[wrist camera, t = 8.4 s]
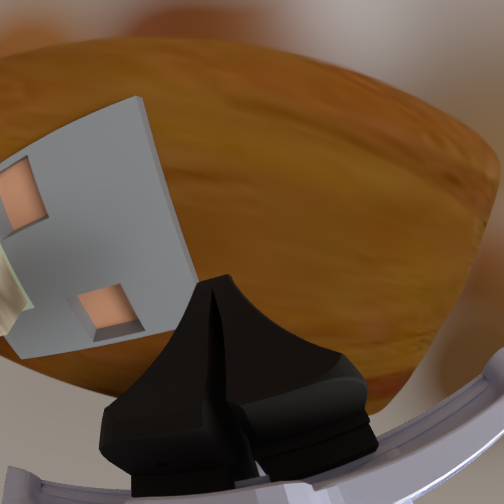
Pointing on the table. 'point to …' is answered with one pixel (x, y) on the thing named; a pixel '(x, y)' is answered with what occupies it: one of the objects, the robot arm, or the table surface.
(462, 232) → the table surface
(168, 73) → the table surface
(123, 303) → the board
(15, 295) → the beech block
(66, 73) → the table surface
